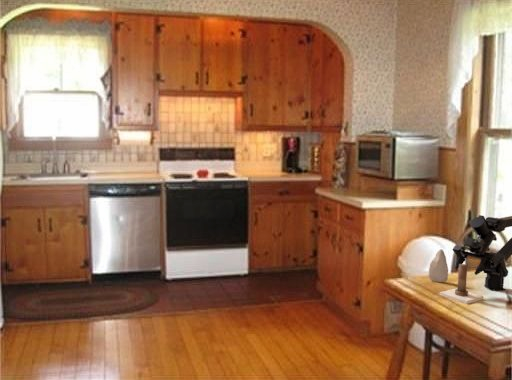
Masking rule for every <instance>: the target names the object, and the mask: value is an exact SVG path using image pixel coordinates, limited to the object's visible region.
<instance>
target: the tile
mask: <svg viewBox="0 0 512 380" xmlns="http://www.w3.org/2000/svg"><path fill="white" fill-rule="evenodd" d="M456 289H458V287H456V288H451V289H448V290H444V291H439V296H441V297H444V298H447V299H450V300H453V301H457V302H459V303H462V304H465V305H467V304H470V303H475V302H478V301H481V300H482V301H483V300H484V296H483V295H480V294H476V293H473V292H470V291H468V296H458V295H456V294H455V290H456Z"/></svg>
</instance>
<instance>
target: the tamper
mask: <svg viewBox="0 0 512 380" xmlns="http://www.w3.org/2000/svg"><path fill="white" fill-rule="evenodd" d="M457 273H458V277H457V288H458V289H456V290H455V294H456V295H458V296H468V292H469V291H468V290H467V275H468V265H467V264H465V263H463V264H459V268H458V272H457Z"/></svg>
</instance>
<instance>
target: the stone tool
mask: <svg viewBox="0 0 512 380" xmlns="http://www.w3.org/2000/svg"><path fill="white" fill-rule="evenodd" d="M448 267H449V266H448V262H447V257H446V255H445V251H444V250H443V249H441V248H440V249H439V250H438V251H437V252H436V253H435V256H434V258H433V259H432V260H431V262H430V263H429V268H428V274H427V275H428V276H427V278H429V280H430V281H432V282H438V283H444V282H447V281H448V278H449V277H448V276H449V268H448Z"/></svg>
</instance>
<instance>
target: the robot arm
mask: <svg viewBox="0 0 512 380" xmlns="http://www.w3.org/2000/svg"><path fill="white" fill-rule="evenodd" d="M469 225H470V227H471V228H472V230H473V232H474V233H475V234H476V236H477V238H476V239H475V238H472V237H465V239H464V241H463V245H464V246H462V245H461V246H460V245H454V246H453V248H452V251H453V253H454V254H455V255H456V261H455V266H454V267H455V268H454V269H455V270H459V264H464V263H465V261H466V259H467V257H473V258H476V259H480V262H479V264H478V266H477V267H476V269H475V271H474V275H475V276H477V275H479V274H480V273H482V272H483V274H486V276H485V279H484V285H483V286H484V287H485V288H487V289H488V290H490V291H506V289H505V287H504V283H505V281H504V280H505V278H506V277H507V276H508V275H509V270H508V269H507V261H508V260H509V258H511V257H512V237H511V238H510V239H509V240H508V241H506V243H504V245H503V246H502V247H501V248H500V249H499V250H498V251H497V252H492V251H491V252H490V250H491V249H490V246H491V244H492V242H493V241H495V242H496V241H497V239H498V238H497V235H496V233H502V232H504V231H505V230H506V228H510V227H512V215H509V216H505V217H491V216H487V217H485V216H484V215H480V214H479V215H478V217H474V218H472V219H470V221H469ZM495 232H496V233H495ZM465 246H467V249H466V248H465Z"/></svg>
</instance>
